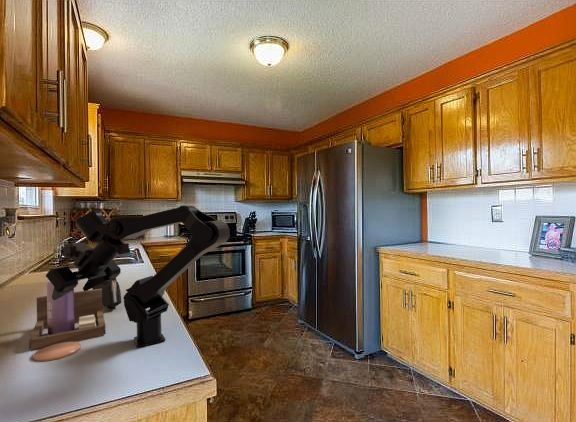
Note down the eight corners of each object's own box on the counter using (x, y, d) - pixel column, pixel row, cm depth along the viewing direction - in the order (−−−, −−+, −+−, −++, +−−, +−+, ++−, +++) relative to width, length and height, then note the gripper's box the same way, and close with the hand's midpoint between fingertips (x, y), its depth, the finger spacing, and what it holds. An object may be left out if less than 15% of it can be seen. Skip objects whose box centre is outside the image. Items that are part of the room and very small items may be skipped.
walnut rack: (105, 335, 83) (105, 301, 83) (28, 351, 74) (27, 313, 74) (102, 316, 98) (101, 288, 98) (37, 328, 90) (37, 297, 90)
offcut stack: (96, 335, 84) (96, 322, 84) (78, 339, 81) (78, 325, 81) (95, 325, 92) (95, 313, 92) (79, 328, 90) (79, 315, 90)
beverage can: (78, 332, 86) (77, 277, 86) (53, 339, 81) (52, 282, 81) (68, 328, 89) (67, 275, 89) (43, 335, 84) (42, 280, 84)
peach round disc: (80, 353, 72) (80, 351, 72) (30, 365, 67) (30, 362, 67) (81, 341, 80) (81, 338, 80) (36, 350, 75) (36, 347, 75)
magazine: (90, 273, 127) (106, 258, 106) (99, 271, 129) (117, 257, 108) (93, 315, 123) (111, 309, 102) (103, 314, 126) (122, 307, 104)
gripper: (111, 230, 92) (81, 266, 95) (51, 235, 74) (15, 280, 77) (135, 257, 91) (103, 293, 93) (79, 268, 72) (41, 313, 75)
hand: (69, 294), depth 84 cm, fingers open, 9 cm apart
